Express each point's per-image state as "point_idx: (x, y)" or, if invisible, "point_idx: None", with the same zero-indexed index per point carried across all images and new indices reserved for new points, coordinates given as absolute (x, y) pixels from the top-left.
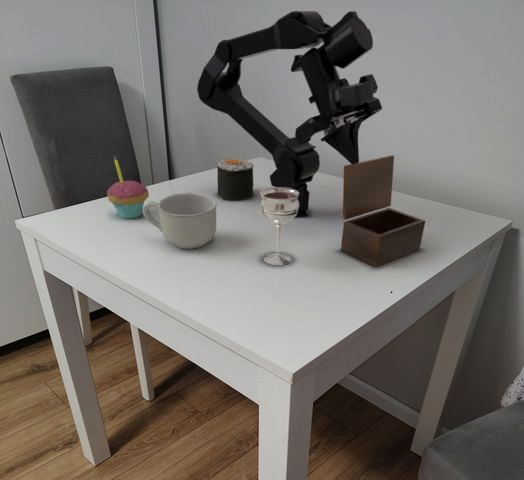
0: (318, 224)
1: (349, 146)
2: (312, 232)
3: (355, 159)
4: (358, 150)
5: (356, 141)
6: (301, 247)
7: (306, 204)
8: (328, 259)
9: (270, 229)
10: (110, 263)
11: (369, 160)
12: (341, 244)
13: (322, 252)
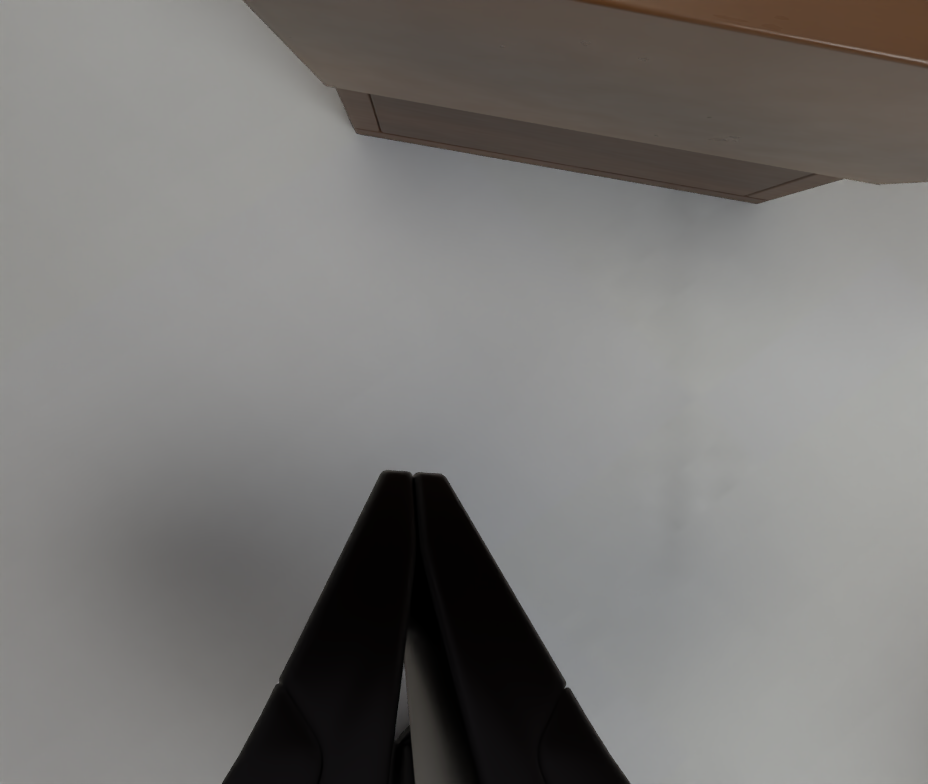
0: (496, 560)
1: (554, 686)
2: (630, 504)
3: (449, 504)
4: (329, 579)
5: (316, 722)
6: (857, 408)
7: (399, 771)
8: (895, 190)
9: (762, 705)
10: None
11: (823, 18)
12: (778, 197)
13: (836, 275)
